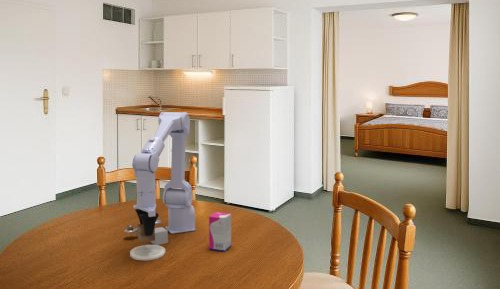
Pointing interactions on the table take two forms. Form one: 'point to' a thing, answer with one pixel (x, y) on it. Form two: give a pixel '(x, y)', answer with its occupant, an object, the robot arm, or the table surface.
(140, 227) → the walnut block
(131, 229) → the balance
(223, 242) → the supplement box
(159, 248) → the dish
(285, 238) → the table surface
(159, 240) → the grey block
